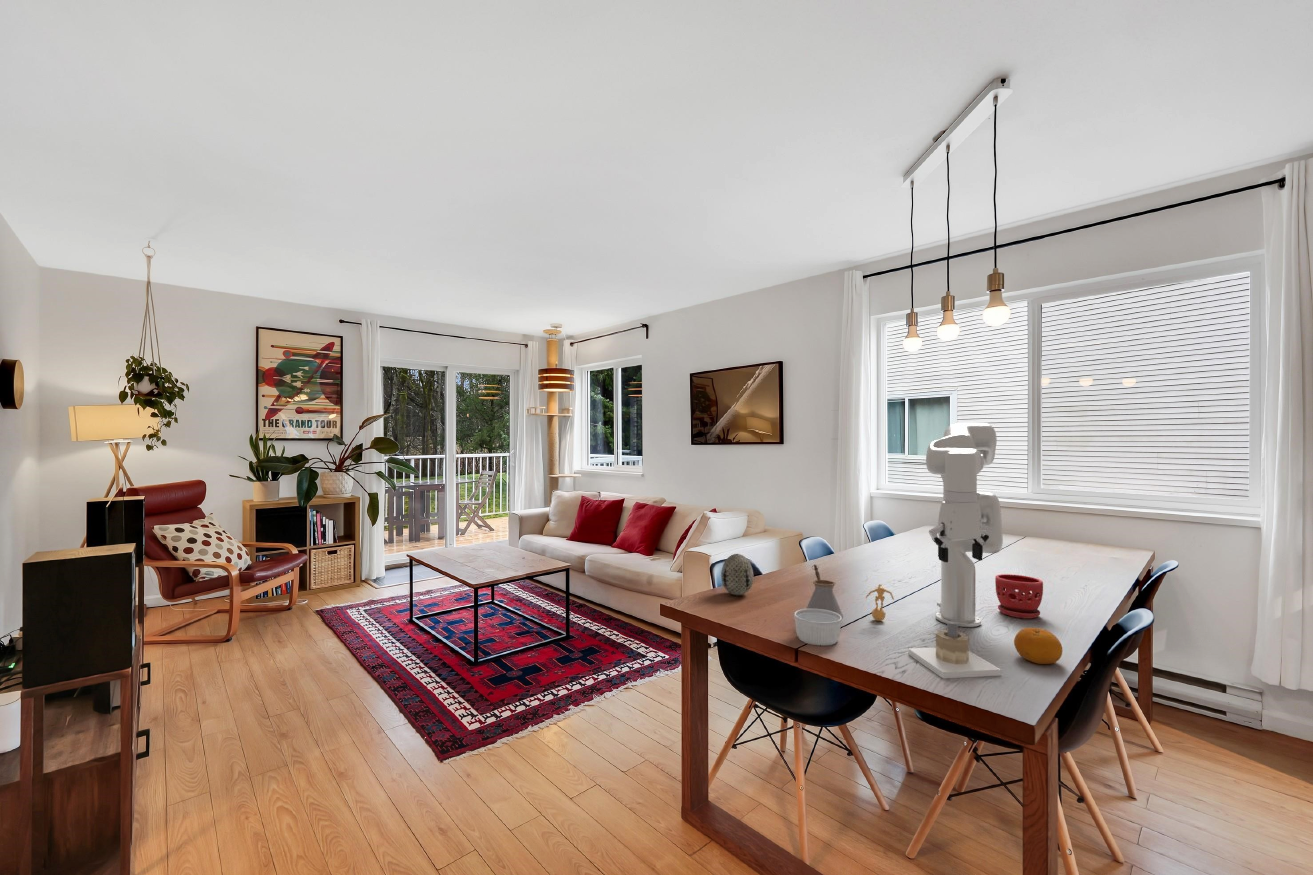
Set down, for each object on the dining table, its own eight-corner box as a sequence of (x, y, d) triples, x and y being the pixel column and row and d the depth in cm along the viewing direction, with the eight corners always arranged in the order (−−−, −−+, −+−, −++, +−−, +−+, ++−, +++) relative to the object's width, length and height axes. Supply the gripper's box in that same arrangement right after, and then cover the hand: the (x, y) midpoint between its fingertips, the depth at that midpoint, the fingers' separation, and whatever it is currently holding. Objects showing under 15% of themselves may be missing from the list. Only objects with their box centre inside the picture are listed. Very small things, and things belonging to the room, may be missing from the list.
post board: (908, 654, 149) (908, 614, 149) (960, 651, 151) (960, 612, 151) (943, 678, 134) (943, 634, 134) (1000, 675, 136) (1001, 632, 136)
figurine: (890, 619, 178) (890, 581, 178) (895, 625, 172) (896, 586, 172) (863, 617, 179) (863, 580, 179) (867, 624, 173) (867, 585, 173)
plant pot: (1052, 620, 176) (1052, 582, 176) (1010, 620, 176) (1010, 582, 176) (1026, 608, 189) (1026, 572, 189) (986, 607, 189) (986, 572, 189)
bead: (931, 653, 146) (931, 630, 146) (956, 652, 146) (956, 629, 146) (947, 664, 139) (947, 640, 139) (974, 663, 140) (974, 639, 140)
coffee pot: (847, 630, 167) (847, 580, 167) (807, 629, 168) (807, 579, 168) (832, 608, 188) (832, 564, 188) (797, 607, 190) (797, 563, 189)
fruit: (1009, 660, 145) (1009, 629, 145) (1019, 649, 152) (1019, 620, 152) (1058, 673, 138) (1058, 640, 138) (1066, 660, 145) (1066, 630, 145)
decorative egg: (760, 596, 202) (760, 555, 202) (734, 601, 197) (734, 558, 196) (739, 588, 213) (739, 549, 212) (714, 593, 207) (714, 552, 207)
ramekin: (806, 627, 170) (806, 605, 170) (849, 637, 161) (849, 613, 161) (786, 640, 160) (786, 616, 160) (831, 651, 151) (831, 626, 151)
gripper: (981, 493, 155) (980, 555, 156) (922, 496, 153) (922, 558, 154) (1000, 498, 147) (1000, 562, 148) (938, 500, 146) (938, 565, 146)
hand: (960, 560), depth 151 cm, fingers open, 9 cm apart
